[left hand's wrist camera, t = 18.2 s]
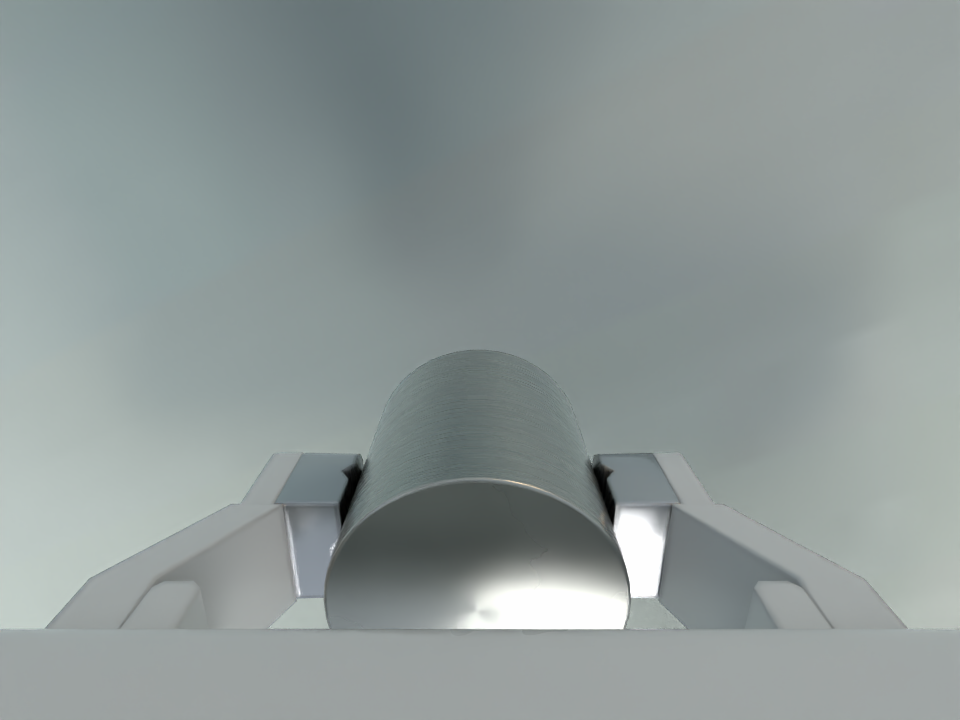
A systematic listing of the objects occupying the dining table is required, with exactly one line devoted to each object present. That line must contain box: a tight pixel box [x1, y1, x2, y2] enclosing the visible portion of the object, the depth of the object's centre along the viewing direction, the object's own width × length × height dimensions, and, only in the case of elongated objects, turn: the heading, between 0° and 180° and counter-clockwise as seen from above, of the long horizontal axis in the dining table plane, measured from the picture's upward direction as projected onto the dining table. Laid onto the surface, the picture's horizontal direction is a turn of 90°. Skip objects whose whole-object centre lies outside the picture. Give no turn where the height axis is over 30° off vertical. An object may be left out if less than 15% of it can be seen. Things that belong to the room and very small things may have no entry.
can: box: [324, 350, 631, 629], centre depth 10 cm, size 4×4×5 cm
